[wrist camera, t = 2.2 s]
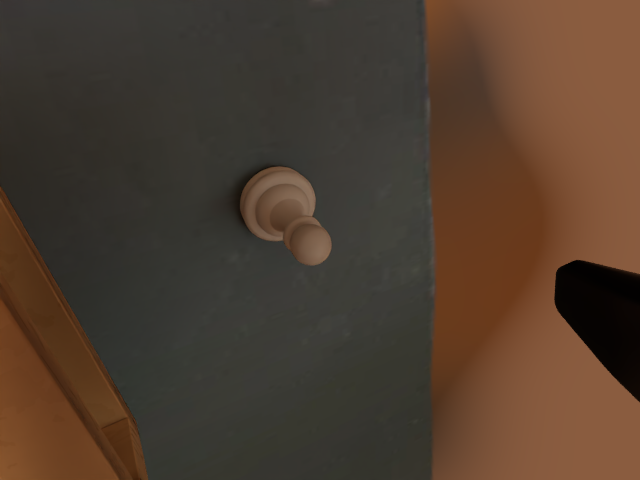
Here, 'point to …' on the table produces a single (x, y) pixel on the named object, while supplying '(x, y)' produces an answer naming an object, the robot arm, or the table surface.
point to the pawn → (285, 213)
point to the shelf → (54, 379)
